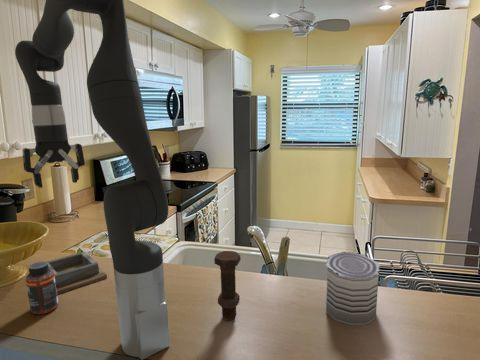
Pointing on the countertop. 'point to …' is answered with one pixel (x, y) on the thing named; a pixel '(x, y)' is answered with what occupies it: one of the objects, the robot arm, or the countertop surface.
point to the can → (352, 288)
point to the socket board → (75, 271)
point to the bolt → (228, 283)
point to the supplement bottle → (41, 288)
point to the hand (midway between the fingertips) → (58, 184)
